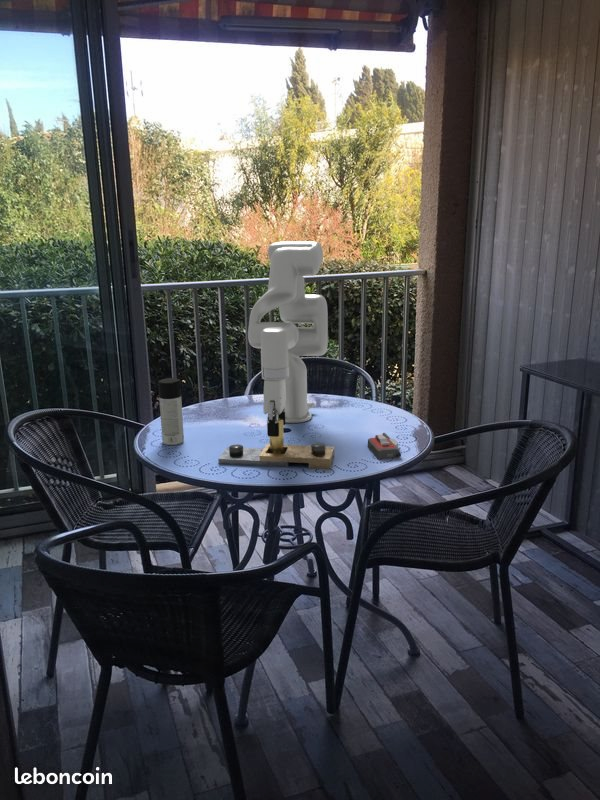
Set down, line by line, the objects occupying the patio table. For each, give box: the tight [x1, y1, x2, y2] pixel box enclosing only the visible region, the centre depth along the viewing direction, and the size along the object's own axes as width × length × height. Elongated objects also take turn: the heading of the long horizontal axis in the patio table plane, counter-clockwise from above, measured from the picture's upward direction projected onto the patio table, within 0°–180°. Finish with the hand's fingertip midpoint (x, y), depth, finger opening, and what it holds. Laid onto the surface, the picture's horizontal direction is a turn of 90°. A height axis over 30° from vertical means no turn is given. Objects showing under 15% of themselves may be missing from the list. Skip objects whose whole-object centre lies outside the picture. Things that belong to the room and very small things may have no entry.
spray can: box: [157, 377, 185, 446], centre depth 205 cm, size 7×7×20 cm
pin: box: [269, 418, 285, 454], centre depth 190 cm, size 4×4×12 cm
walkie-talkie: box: [367, 432, 402, 460], centre depth 200 cm, size 9×4×20 cm
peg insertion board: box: [218, 442, 335, 470], centre depth 191 cm, size 10×32×5 cm, turn 81°
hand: (276, 430), depth 190 cm, fingers open, 9 cm apart
